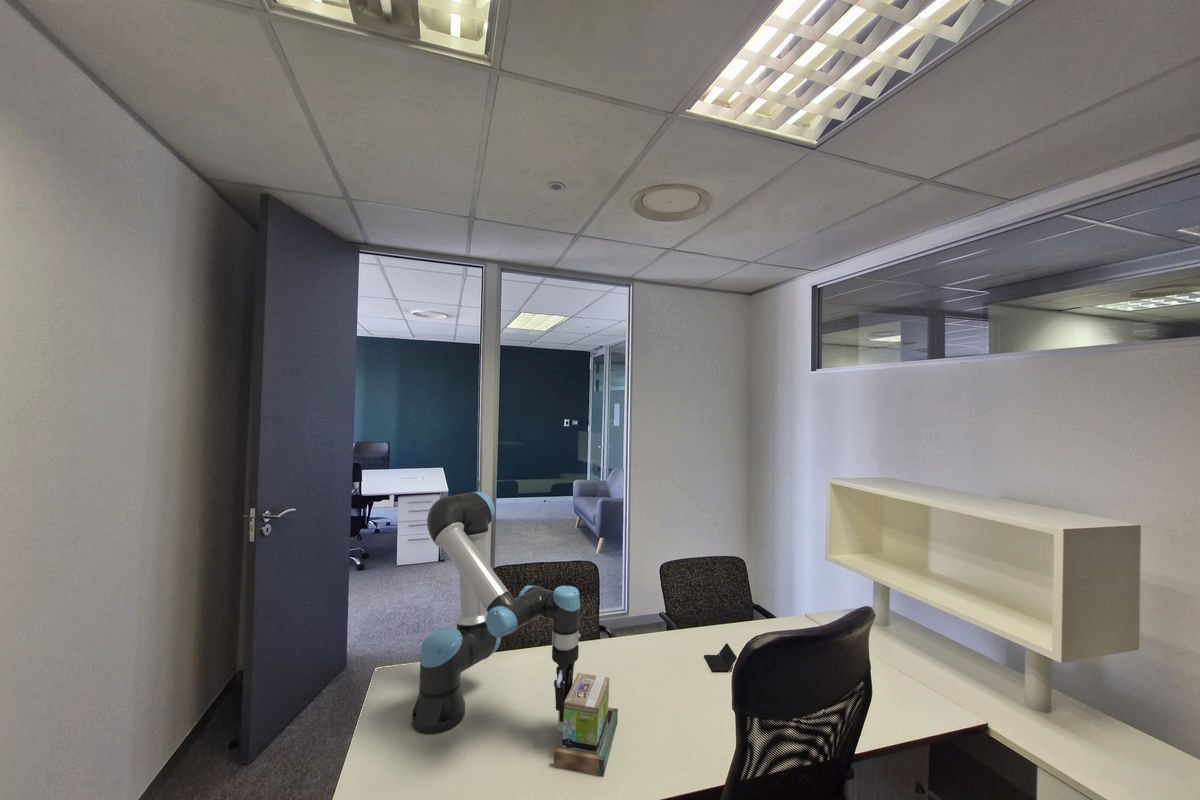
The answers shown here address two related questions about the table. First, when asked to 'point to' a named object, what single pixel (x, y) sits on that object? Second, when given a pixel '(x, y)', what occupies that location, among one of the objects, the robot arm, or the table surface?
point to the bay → (589, 761)
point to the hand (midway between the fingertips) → (563, 730)
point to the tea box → (586, 714)
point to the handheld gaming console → (721, 660)
